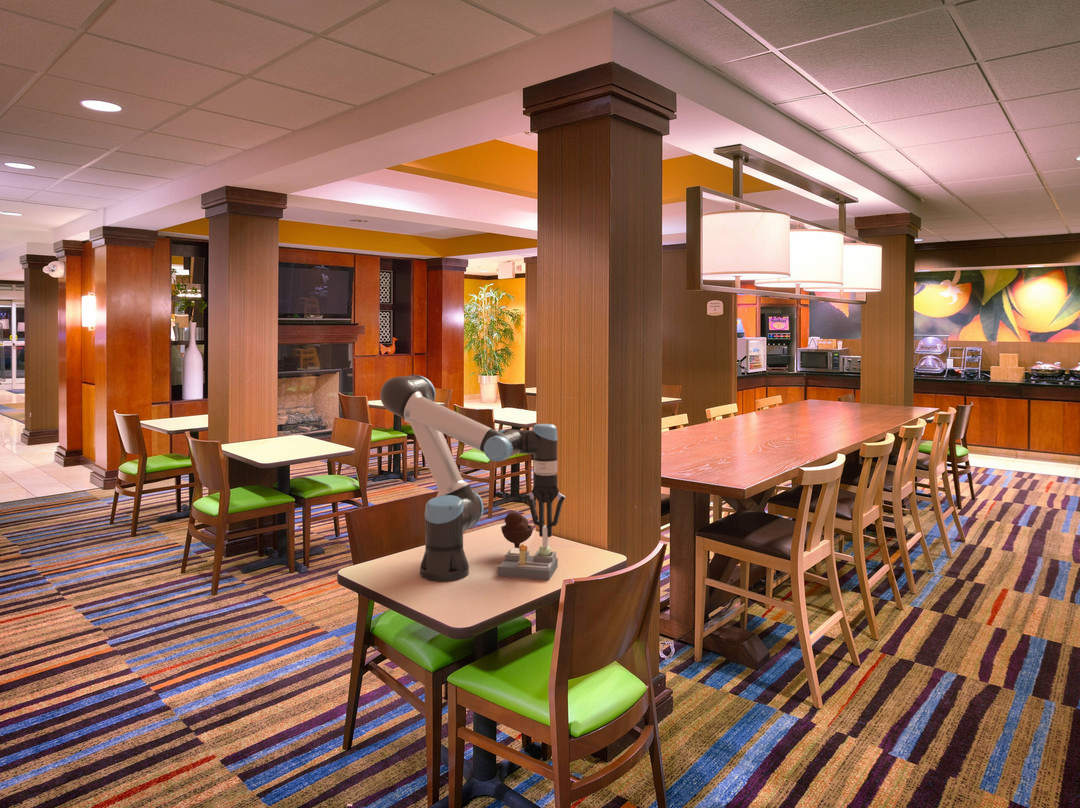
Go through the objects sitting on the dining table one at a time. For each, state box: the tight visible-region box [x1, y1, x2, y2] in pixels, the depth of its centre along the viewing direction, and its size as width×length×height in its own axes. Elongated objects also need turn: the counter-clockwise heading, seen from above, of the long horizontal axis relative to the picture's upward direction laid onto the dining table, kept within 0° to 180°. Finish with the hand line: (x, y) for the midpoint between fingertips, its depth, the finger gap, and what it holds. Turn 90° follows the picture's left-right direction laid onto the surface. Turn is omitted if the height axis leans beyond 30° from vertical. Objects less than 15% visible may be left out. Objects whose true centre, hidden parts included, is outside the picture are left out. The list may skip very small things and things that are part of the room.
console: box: [497, 549, 559, 581], centre depth 217 cm, size 16×13×5 cm
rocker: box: [510, 547, 520, 555], centre depth 221 cm, size 4×3×1 cm
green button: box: [538, 545, 552, 556], centre depth 219 cm, size 4×4×3 cm
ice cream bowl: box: [500, 511, 534, 548], centre depth 234 cm, size 11×11×15 cm
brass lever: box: [519, 543, 528, 565], centre depth 214 cm, size 3×3×6 cm
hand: (545, 546), depth 219 cm, fingers closed
